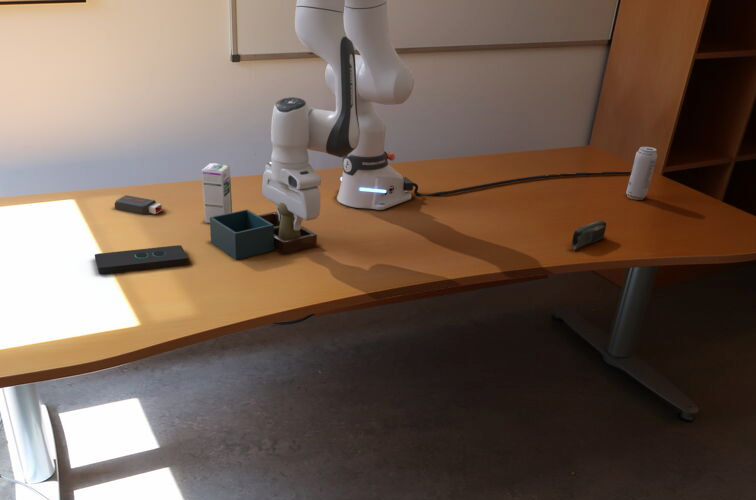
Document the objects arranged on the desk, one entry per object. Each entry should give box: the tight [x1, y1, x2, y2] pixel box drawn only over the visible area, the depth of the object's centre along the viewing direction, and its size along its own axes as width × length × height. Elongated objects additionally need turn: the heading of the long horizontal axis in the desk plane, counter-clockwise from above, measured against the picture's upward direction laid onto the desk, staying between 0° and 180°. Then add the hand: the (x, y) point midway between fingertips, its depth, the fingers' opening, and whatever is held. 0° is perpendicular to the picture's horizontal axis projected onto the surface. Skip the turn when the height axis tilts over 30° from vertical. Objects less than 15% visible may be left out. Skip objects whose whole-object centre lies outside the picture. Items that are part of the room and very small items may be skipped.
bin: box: [209, 209, 275, 260], centre depth 181 cm, size 11×12×7 cm
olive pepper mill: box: [278, 203, 301, 240], centre depth 183 cm, size 6×6×11 cm
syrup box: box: [200, 162, 233, 224], centre depth 193 cm, size 6×6×14 cm
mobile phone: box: [571, 220, 607, 251], centre depth 194 cm, size 5×3×15 cm
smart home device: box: [94, 244, 189, 275], centre depth 172 cm, size 8×2×20 cm
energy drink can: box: [625, 146, 658, 201], centre depth 225 cm, size 6×6×15 cm
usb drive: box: [114, 195, 163, 215], centre depth 200 cm, size 5×12×3 cm, turn 70°
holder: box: [258, 211, 318, 255], centre depth 188 cm, size 10×19×3 cm, turn 38°
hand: (289, 225), depth 183 cm, fingers closed on olive pepper mill, 4 cm apart
